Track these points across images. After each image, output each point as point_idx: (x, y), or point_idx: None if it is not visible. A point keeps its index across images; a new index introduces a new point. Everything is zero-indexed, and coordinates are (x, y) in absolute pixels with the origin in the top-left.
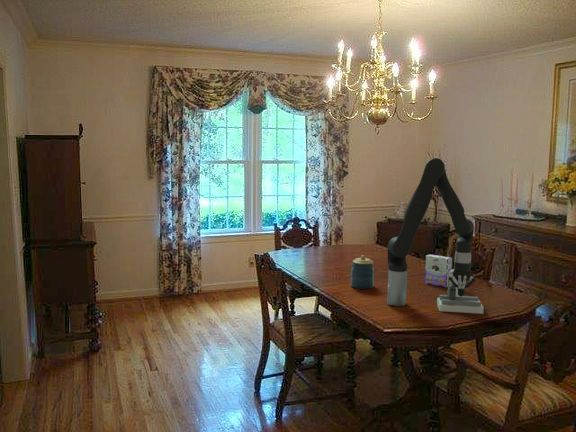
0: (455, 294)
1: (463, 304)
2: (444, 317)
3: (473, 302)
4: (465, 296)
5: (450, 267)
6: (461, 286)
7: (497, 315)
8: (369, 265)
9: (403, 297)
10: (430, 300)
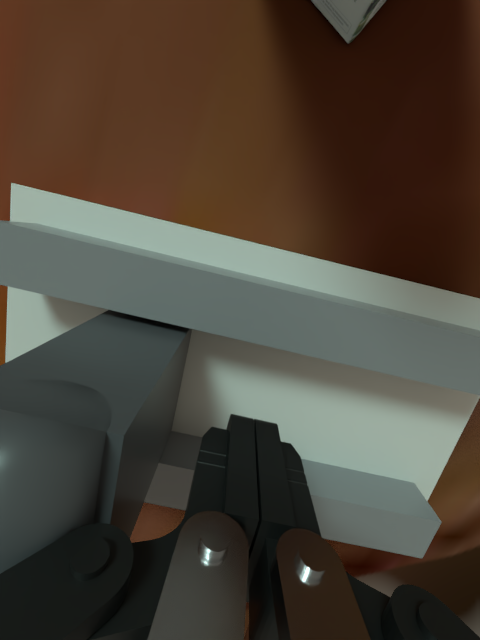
0: (134, 518)
1: None
2: None
3: (340, 538)
4: (361, 328)
5: None
6: (272, 580)
7: (468, 523)
8: None
9: None
10: (5, 56)
